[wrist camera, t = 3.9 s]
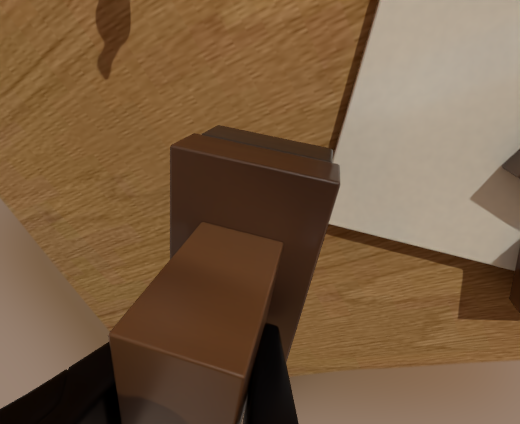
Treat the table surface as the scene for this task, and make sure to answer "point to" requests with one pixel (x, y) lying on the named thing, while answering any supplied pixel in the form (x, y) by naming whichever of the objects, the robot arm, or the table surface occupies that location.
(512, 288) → the chip
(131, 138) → the table surface
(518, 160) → the chip
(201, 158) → the brown stepped block
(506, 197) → the tile
